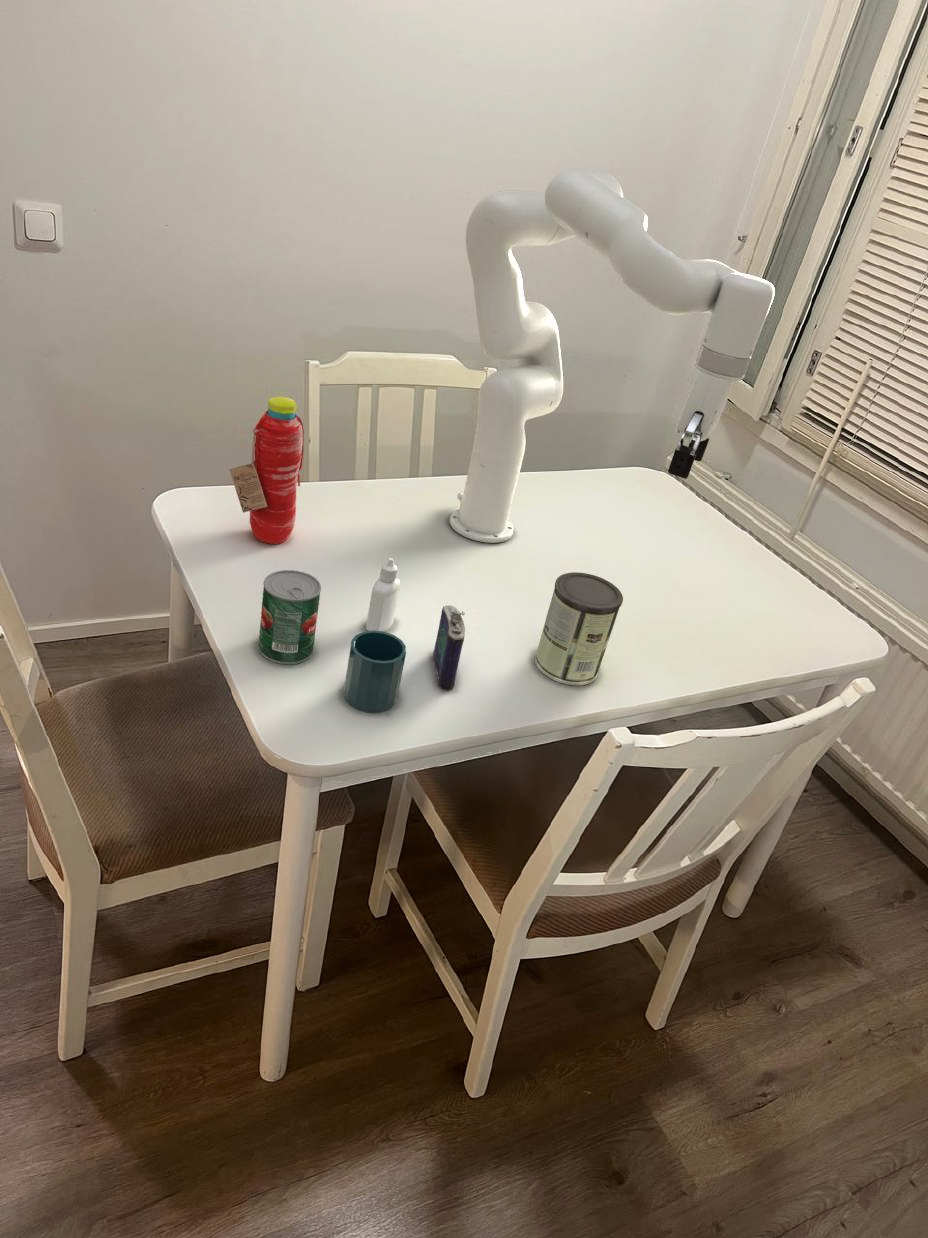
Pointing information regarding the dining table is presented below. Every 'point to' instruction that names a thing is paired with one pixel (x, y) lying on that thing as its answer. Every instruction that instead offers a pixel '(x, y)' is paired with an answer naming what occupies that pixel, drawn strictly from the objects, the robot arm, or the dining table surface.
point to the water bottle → (272, 472)
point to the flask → (448, 646)
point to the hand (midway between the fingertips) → (684, 466)
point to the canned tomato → (289, 616)
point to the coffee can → (577, 628)
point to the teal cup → (374, 671)
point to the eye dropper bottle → (384, 599)
